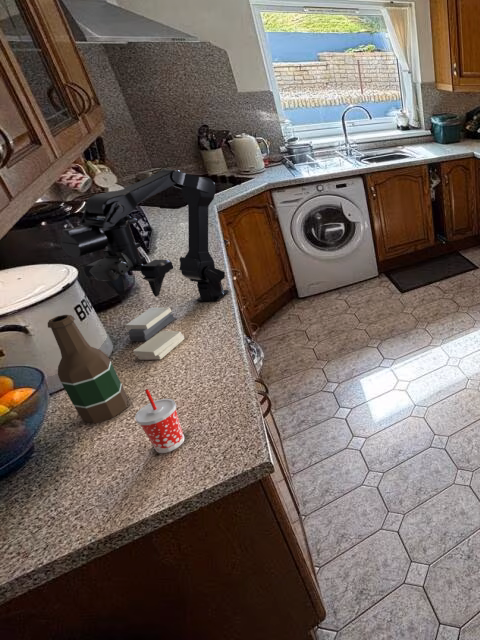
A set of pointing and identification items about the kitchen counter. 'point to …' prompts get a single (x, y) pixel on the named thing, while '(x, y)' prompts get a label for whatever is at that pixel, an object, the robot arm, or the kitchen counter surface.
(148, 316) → the white book
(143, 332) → the dark grey rectangular block
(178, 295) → the kitchen counter surface
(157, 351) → the cream flat block
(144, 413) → the beverage cup
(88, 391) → the beer bottle
